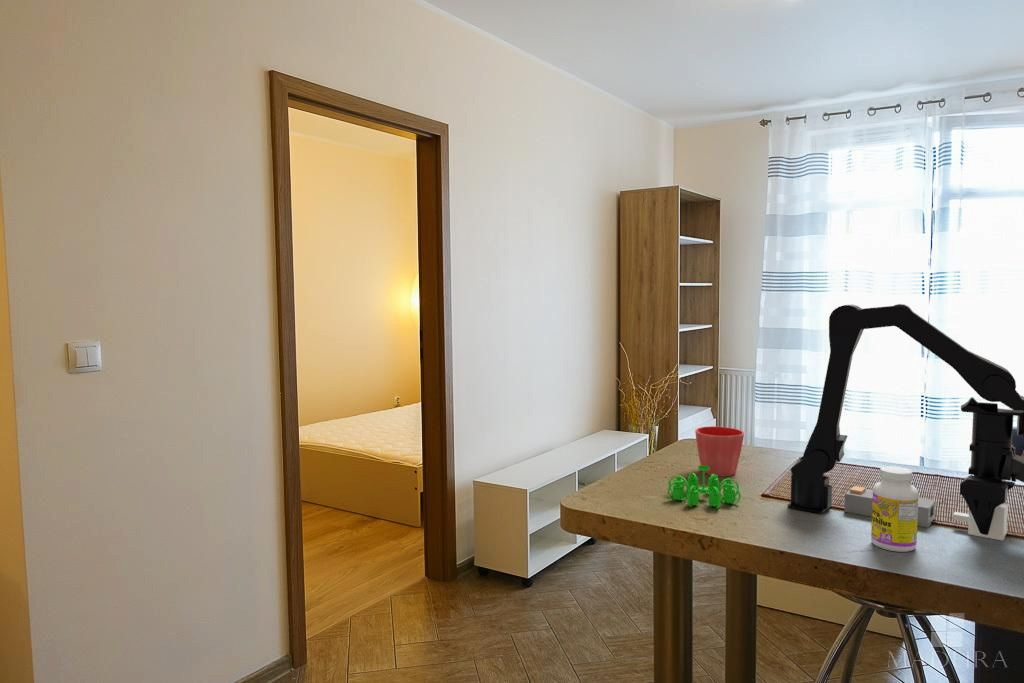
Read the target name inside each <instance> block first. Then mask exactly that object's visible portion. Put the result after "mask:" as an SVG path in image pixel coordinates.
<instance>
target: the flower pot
mask: <svg viewBox="0 0 1024 683" xmlns="http://www.w3.org/2000/svg"><path fill="white" fill-rule="evenodd" d="M694 432H695V439H696V446H697V453H698V459H699V463H700V464H699V465H700V466H709V467H710V470H708V471H705V474H706V473H707V475H710V474H711V475H712V474H716V475H719V476H718V477H728V476H733V475H736V473H737V469H738V465H739V461H740V457H741V452H742V447H743V444H744V443H743V441H744V437H745V433H744V431H743V430H740V429H737V428H735V427H734V428H733V427H726V426H701V427H697V428H696V429H695V431H694ZM711 475H710V476H711Z"/></svg>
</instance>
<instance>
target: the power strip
mask: <svg viewBox="0 0 1024 683" xmlns="http://www.w3.org/2000/svg"><path fill="white" fill-rule="evenodd" d="M872 503H873V489H870V488H866V487H864V486H858V485H854V486H852V487H851V488H850V489H849V490H848V491H846V492H845V493H844V512H845V513H850V514H855V515H860V516H865V517H871V518H872ZM934 518H935V519H936V500H935V499H928V498H924V497H923V498H922V497H918V520H917V527H924V528H929V527H930V526H931V524H932V523H933V522H932V520H933V519H934ZM935 519H934V520H935ZM931 522H932V523H931Z"/></svg>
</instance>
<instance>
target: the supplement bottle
mask: <svg viewBox="0 0 1024 683" xmlns="http://www.w3.org/2000/svg"><path fill="white" fill-rule="evenodd" d="M879 470H880V471H879V476H880V480H881V481H878V482H877V483H875V484H874V485H873V487H872V490H873V503H872V517H871V529H870V530H871V532H870V533H871V534H870V536H871V537H870V540H871V542H872V544H873V545H875V547H878V548H880V549H883V550H886V551H890V552H895V553H896V552H898V553H907V552H911V551H913V550H915V549H916V548H917V541H918V526H917V520H918V498H919V497H920V496H919V491H918V489H917V488H916V487H915V486H914V485H912V484H911V483H912V480H913V470H911V469H909V468H906V467H899V466H882V467H880V469H879Z"/></svg>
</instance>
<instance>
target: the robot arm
mask: <svg viewBox="0 0 1024 683" xmlns="http://www.w3.org/2000/svg"><path fill="white" fill-rule="evenodd" d="M886 327H887V328H888V327H896V328H898V329H899V330H900V331H902V332H903V333H905V334H907V336H909V337H910V338H911V339H913V340H915V341H916V342H917V343H919V345H921V346H923V347H924V348H925V349H927V350H928V351H930V352H931V353H932V354H934V355H935V356H937V357H938V358H939V359H940V360H942V361H943V362H945V363H946V364H947V365H949V366H950V367H951V368H952V369H954V371H956V372H957V373H958V375H959V376H960V377H961V378H962V379H963V381H965V382H966V384H968V385H969V387H971V388H972V389H973V390H974V392H975V393H976V394H977V395H978V396H979V397H981V398H982V399H983V400H985V401H987V402H980V401H977V400H976V399H975V397H973V396H972V397H970V398H969V399H968V400H967V401H966V402H965V403H963V404H961V405H960V411H961V412H963V413H972V431H971V443H970V444H969V451H970V453H971V454H970V466H969V468H968V476H967V477H965V478H964V479H963V480H962V481H961V482H960V486H959V487H960V489H959V495H961V496H962V498H963V499H964V500H965V503H966V504H967V505H966V506H967V507H968V510H969V509H970V511H971V514H972V516H973V518H974V520H975V523H976V525H977V527H978V529H979V532H980V533H981V534H984V535H988V533H989V530H990V526H991V523H992V519H993V515H994V512H995V508H996V507H997V506H999V505H1001V504H1004V503H1005V502H1007V500H1008V491H1009V490H1011V489H1013V488H1014V487H1015V484H1016V483H1015V482H1017V481H1020V482H1022V483H1024V456H1021V455H1018V454H1016V446H1015V447H1014V444H1013V431H1014V430H1013V429H1014V417H1015V416H1017V418H1016V419H1017V420H1016V435H1017V436H1019V437H1020V436H1021V437H1022V439H1024V396H1023V395H1021V394H1019V393H1018V391H1017V389H1016V388H1017V384H1016V382H1017V381H1016V379H1015V377H1014V376H1013V374H1012V372H1010V371H1009V370H1008V368H1006V367H1003V366H1001V365H999V364H997V363H995V362H993V361H992V360H990V359H988V358H986V357H984V356H981V355H979V354H977V353H974V352H972V351H970V350H968V349H966V348H965V347H964V346H962V345H961V344H959V343H958V342H957V341H955V340H954V339H953V338H951V337H950V336H949V335H947V334H946V333H944V332H943V331H941V330H940V329H939V328H937V327H936V326H934V325H933V324H931V323H930V322H928V320H926V319H924V318H923V317H921V316H920V315H919V314H917V313H916V312H914V311H913V309H912V308H911V307H910V306H908V305H906V304H904V303H903V304H902V303H897V304H894V305H888V306H879V307H876V306H875V307H868V308H867V307H866V308H862V307H860V306H859V305H856V304H844V305H841V306H838V307H836V308H834V309H833V311H831V313H830V315H829V318H828V339H829V341H828V342H829V351H830V352H829V358H828V361H827V362H828V363H827V367H826V373H825V377H824V378H825V379H824V384H823V389H822V394H821V400H820V404H819V408H818V409H819V411H818V416H817V421H816V424H815V426H814V429H813V431H812V433H811V435H810V437H809V440H808V441H807V445H806V447H805V450H804V452H803V455H802V457H800V458H799V459H798V460H797V461H796V462H795V463H794V465H793V466H792V467H791V468H790V472H791V475H790V476H791V477H790V480H791V481H790V502H788V504H787V505H786V506H787V508H791V509H795V510H800V511H807V512H811V513H814V514H815V513H816V514H823V513H824V512H826V511H827V510H828V509H830V508H831V507H832V502H833V485H831V484H830V476H827V475H825V474H826V473H828V472H830V471H832V470H833V469H834V468H835V466H836V464H837V463H840V462H841V461H842V459H843V457H844V456H845V452H844V451H845V450H844V448H845V444H846V442H847V438H848V435H845V434H841V429H840V422H841V417H842V413H843V412H842V411H843V407H844V406H843V405H844V401H845V397H846V390H847V386H848V382H849V380H848V379H849V376H850V371H851V366H852V361H853V356H854V354H855V351H856V349H857V346H858V344H859V342H860V339H861V338H862V335H863V332H864V330H867V329H868V330H869V329H878V328H879V329H880V328H886ZM999 402H1000V403H1002V404H1003V405H1005V407H1008V408H1010V409H1006V408H999V405H998V403H999Z"/></svg>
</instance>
